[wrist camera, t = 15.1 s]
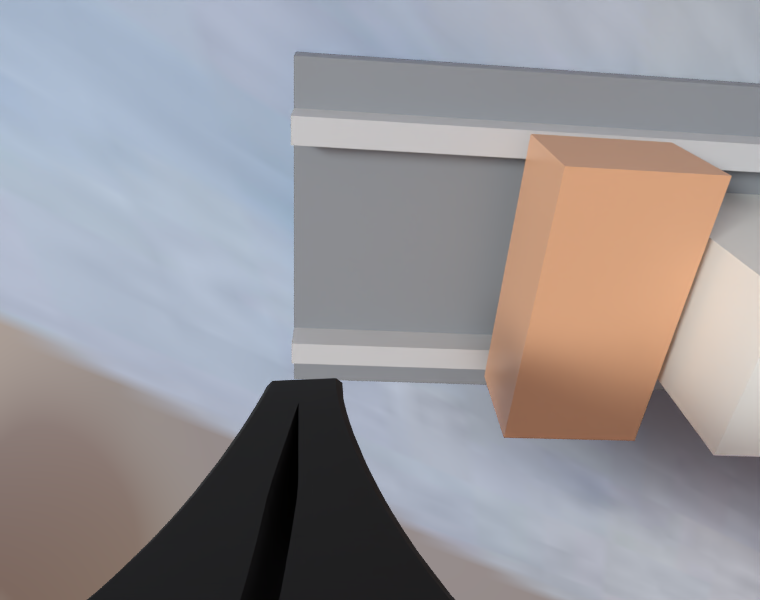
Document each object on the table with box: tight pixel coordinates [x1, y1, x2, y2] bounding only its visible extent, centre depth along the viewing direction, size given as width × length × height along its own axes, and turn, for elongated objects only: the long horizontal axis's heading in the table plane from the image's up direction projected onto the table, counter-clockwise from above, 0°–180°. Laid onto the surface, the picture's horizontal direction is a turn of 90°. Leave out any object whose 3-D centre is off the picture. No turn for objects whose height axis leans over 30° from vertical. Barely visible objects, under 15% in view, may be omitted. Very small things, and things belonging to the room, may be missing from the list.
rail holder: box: [291, 52, 760, 390], centre depth 18 cm, size 20×11×6 cm, turn 86°
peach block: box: [484, 134, 732, 441], centre depth 17 cm, size 4×8×3 cm, turn 176°
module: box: [657, 193, 760, 457], centre depth 17 cm, size 4×4×7 cm
